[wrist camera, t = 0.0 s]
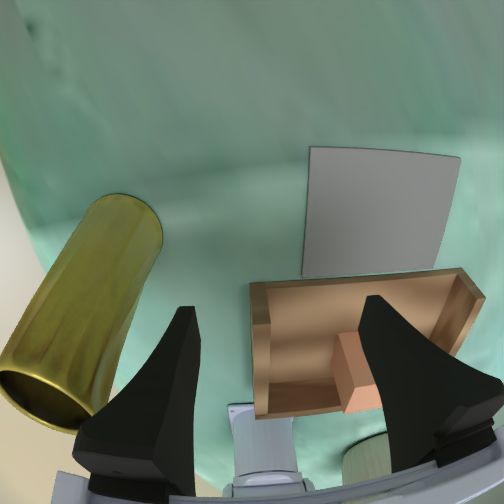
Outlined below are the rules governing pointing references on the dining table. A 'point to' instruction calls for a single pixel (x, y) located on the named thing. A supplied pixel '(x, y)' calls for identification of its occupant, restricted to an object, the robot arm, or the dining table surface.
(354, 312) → the crate
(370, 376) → the block
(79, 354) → the vase
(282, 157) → the dining table surface
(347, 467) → the canister
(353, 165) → the mat
